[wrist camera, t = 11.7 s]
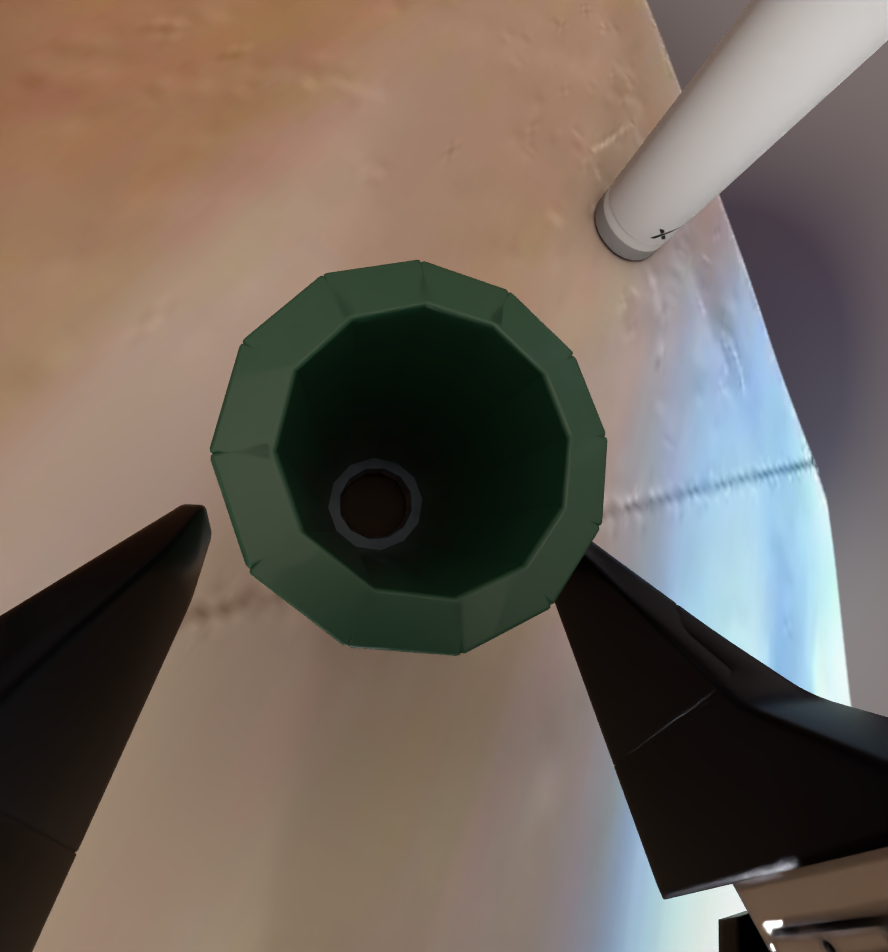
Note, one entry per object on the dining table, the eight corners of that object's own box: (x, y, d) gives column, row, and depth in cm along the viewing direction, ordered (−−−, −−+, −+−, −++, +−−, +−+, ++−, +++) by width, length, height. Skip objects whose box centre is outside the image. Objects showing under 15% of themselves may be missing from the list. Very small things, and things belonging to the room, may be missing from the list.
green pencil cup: (452, 538, 18) (656, 554, 6) (336, 586, 16) (303, 741, 4) (412, 429, 18) (531, 241, 6) (294, 465, 17) (153, 296, 5)
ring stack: (469, 527, 22) (489, 526, 19) (347, 615, 19) (347, 632, 16) (394, 411, 22) (402, 390, 18) (262, 484, 19) (244, 474, 16)
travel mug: (648, 278, 29) (1218, -203, 10) (583, 233, 28) (1087, -402, 9) (666, 225, 31) (1190, -279, 12) (606, 181, 30) (1076, -457, 10)
